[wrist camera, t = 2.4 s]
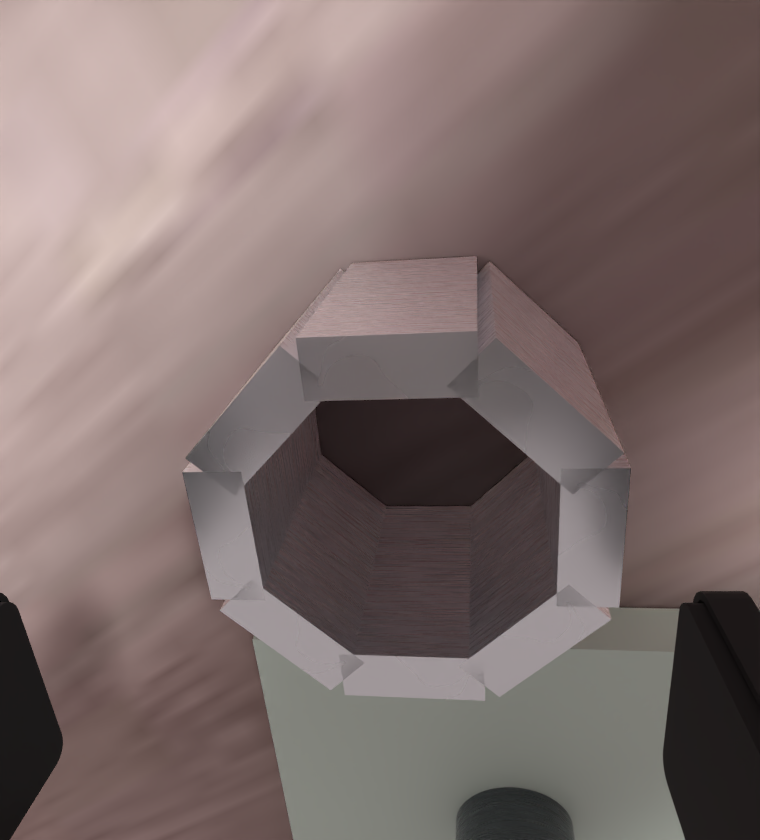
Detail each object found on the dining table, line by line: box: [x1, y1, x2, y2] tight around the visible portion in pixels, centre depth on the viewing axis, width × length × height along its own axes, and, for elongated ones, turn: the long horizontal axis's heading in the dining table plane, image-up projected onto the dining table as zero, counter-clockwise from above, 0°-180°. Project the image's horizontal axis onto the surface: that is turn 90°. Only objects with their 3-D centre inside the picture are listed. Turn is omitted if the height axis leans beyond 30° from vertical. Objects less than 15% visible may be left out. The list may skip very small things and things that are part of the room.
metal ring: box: [182, 256, 631, 701], centre depth 13 cm, size 7×7×5 cm
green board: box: [252, 607, 760, 840], centre depth 20 cm, size 13×13×2 cm
